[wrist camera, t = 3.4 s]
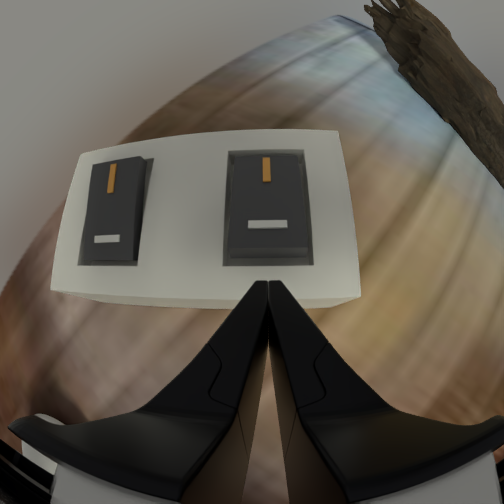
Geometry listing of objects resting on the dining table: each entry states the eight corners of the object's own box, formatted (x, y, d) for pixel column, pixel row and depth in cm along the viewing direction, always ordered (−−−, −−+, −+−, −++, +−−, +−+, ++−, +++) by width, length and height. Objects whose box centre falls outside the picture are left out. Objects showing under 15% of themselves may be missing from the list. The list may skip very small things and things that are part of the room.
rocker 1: (140, 260, 15) (132, 260, 14) (93, 260, 15) (82, 259, 14) (147, 161, 15) (139, 155, 14) (100, 169, 15) (91, 164, 14)
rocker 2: (305, 257, 13) (308, 246, 12) (230, 258, 13) (227, 247, 12) (296, 167, 16) (297, 154, 15) (236, 168, 16) (234, 155, 15)
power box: (330, 307, 19) (360, 296, 12) (105, 302, 20) (50, 289, 13) (314, 139, 23) (325, 82, 16) (131, 151, 24) (100, 107, 17)
